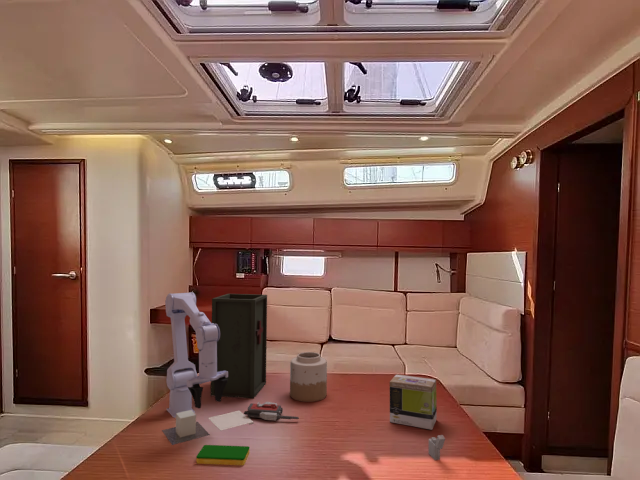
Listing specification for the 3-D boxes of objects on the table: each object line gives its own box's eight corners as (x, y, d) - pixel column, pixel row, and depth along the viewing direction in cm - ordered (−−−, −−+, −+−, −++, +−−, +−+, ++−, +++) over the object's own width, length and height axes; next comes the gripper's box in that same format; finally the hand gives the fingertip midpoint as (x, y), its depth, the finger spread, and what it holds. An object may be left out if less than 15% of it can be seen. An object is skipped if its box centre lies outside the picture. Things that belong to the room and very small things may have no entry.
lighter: (428, 453, 123) (428, 426, 123) (433, 452, 123) (433, 425, 123) (439, 465, 116) (439, 437, 116) (445, 465, 116) (445, 436, 116)
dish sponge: (244, 467, 115) (244, 458, 115) (195, 465, 116) (195, 456, 116) (249, 454, 122) (249, 445, 122) (204, 452, 123) (204, 444, 123)
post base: (161, 431, 135) (162, 418, 135) (197, 423, 142) (197, 410, 142) (172, 446, 125) (172, 431, 125) (209, 436, 132) (210, 422, 132)
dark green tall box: (226, 381, 186) (228, 293, 187) (266, 383, 183) (267, 294, 184) (210, 395, 168) (212, 298, 168) (253, 398, 165) (255, 299, 166)
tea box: (437, 419, 147) (437, 378, 147) (432, 431, 138) (432, 387, 138) (395, 412, 153) (396, 372, 153) (388, 422, 144) (389, 380, 144)
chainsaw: (241, 419, 144) (298, 423, 142) (242, 406, 144) (298, 410, 143) (247, 410, 152) (301, 414, 151) (248, 398, 153) (301, 402, 151)
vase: (333, 393, 172) (333, 353, 172) (313, 405, 159) (314, 362, 160) (303, 386, 180) (304, 348, 181) (282, 397, 167) (283, 356, 168)
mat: (207, 419, 145) (207, 417, 145) (239, 411, 152) (239, 410, 152) (220, 432, 135) (220, 430, 135) (253, 423, 142) (253, 421, 142)
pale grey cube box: (175, 431, 134) (175, 413, 134) (190, 427, 137) (191, 409, 137) (180, 437, 130) (180, 418, 130) (195, 433, 133) (196, 414, 133)
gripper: (195, 368, 126) (195, 413, 125) (233, 359, 137) (233, 400, 136) (183, 365, 131) (183, 408, 130) (221, 356, 141) (221, 396, 141)
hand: (208, 404), depth 133 cm, fingers open, 7 cm apart
